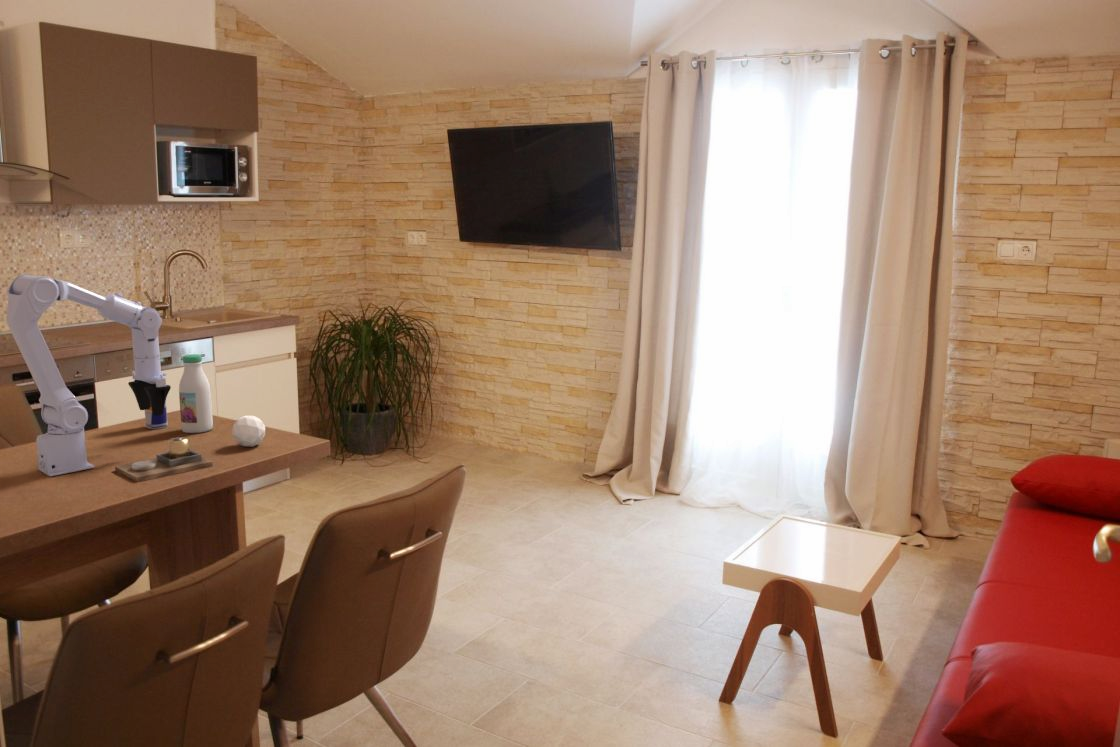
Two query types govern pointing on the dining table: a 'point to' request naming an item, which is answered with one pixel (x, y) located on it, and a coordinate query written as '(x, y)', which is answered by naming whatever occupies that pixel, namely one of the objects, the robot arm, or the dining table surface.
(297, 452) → the dining table surface
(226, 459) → the dining table surface
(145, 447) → the dining table surface
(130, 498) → the dining table surface
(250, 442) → the geometric ball
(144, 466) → the carrier board
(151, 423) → the energy drink
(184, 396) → the milk bottle
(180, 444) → the gold knobbed cylinder
